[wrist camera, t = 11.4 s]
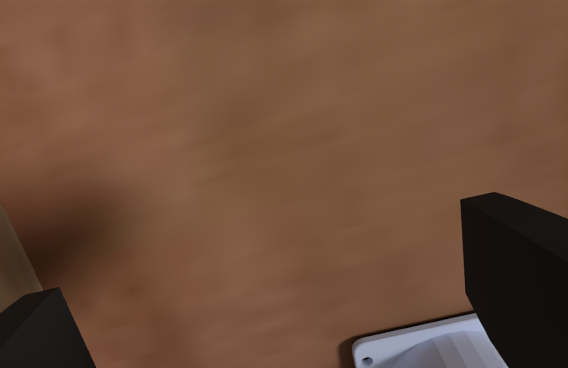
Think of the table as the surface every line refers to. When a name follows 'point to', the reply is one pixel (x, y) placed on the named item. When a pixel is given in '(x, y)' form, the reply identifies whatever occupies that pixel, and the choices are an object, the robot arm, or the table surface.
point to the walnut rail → (14, 266)
